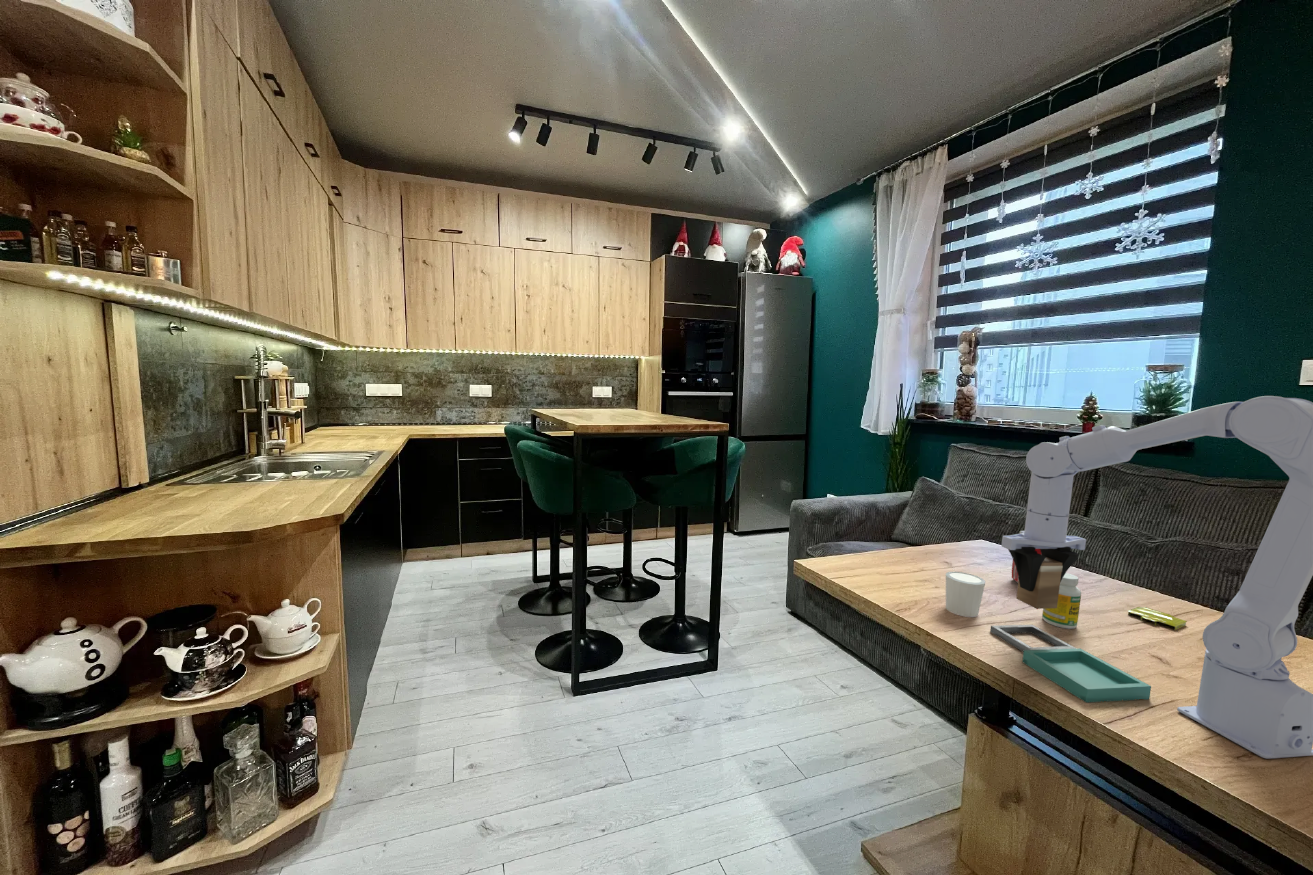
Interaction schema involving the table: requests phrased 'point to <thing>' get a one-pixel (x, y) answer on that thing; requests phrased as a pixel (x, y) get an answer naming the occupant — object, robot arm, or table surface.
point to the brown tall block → (1043, 586)
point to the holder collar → (1006, 630)
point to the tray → (1086, 675)
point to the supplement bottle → (1065, 604)
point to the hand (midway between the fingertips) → (1038, 588)
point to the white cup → (964, 593)
